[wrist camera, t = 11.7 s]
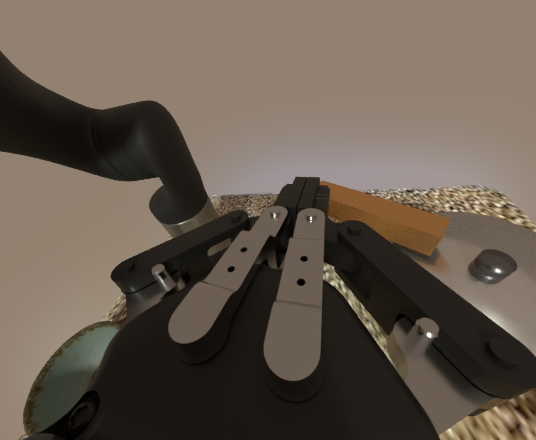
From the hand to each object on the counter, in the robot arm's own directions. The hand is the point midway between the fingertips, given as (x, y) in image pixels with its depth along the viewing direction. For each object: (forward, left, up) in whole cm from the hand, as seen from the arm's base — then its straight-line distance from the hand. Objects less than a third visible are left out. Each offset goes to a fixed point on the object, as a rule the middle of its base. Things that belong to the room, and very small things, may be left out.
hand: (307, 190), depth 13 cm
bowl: (-2, -35, -30) cm, 46 cm away
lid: (-1, +15, -17) cm, 23 cm away
